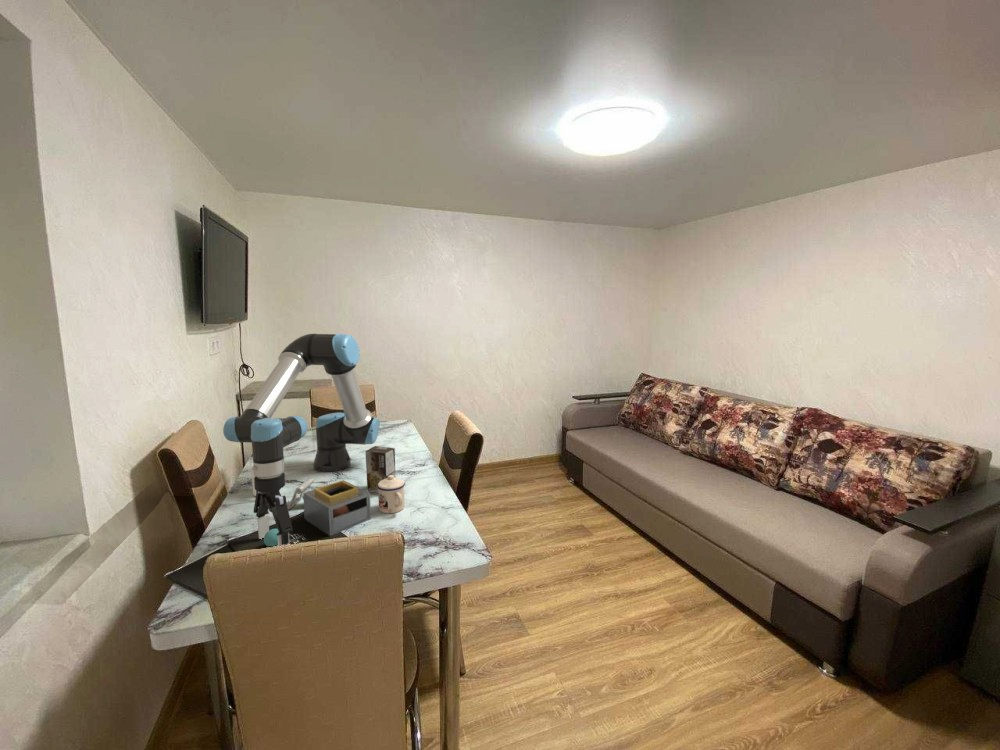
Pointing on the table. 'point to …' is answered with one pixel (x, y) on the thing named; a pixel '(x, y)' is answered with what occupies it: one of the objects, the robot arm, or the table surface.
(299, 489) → the portable electronic device stand
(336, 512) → the ball terracotta
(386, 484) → the teacup with lid
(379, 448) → the coffee box
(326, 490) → the grey slotted box
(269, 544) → the ball teal
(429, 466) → the table surface
